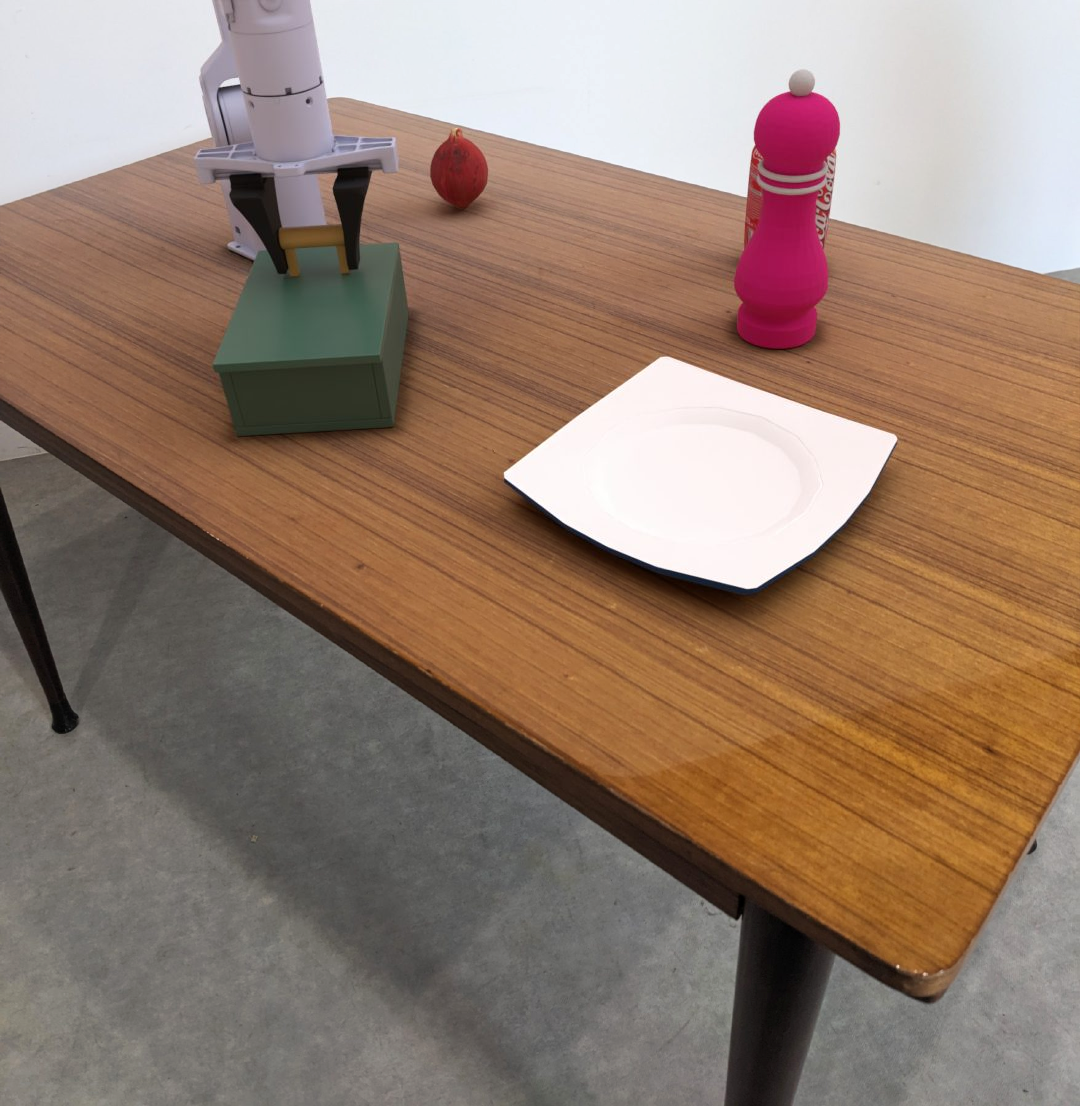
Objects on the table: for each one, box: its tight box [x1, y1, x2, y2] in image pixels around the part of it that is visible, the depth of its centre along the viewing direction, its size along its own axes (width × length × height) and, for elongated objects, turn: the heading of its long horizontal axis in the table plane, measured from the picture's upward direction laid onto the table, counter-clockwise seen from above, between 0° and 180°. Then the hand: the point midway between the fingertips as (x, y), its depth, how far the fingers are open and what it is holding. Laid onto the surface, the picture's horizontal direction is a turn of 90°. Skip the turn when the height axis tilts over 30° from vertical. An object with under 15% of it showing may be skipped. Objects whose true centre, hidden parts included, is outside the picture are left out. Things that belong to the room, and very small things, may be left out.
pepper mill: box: [733, 68, 841, 350], centre depth 79 cm, size 7×7×20 cm
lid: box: [212, 223, 401, 374], centre depth 78 cm, size 18×12×4 cm, turn 2°
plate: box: [503, 356, 899, 596], centre depth 69 cm, size 20×20×3 cm
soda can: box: [743, 145, 837, 251], centre depth 90 cm, size 7×7×12 cm
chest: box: [218, 250, 410, 437], centre depth 82 cm, size 18×12×6 cm, turn 2°
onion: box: [429, 126, 489, 210], centre depth 105 cm, size 6×6×8 cm
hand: (318, 266), depth 82 cm, fingers closed on lid, 5 cm apart
